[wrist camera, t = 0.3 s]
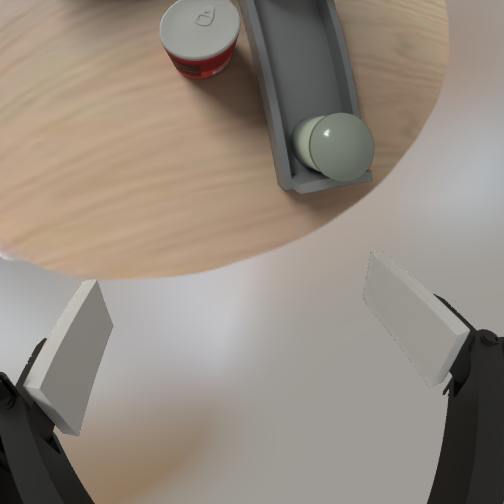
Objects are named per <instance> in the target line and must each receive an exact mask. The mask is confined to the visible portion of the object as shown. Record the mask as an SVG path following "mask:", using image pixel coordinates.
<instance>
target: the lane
mask: <svg viewBox="0 0 504 504" xmlns="http://www.w3.org/2000/svg"><path fill="white" fill-rule="evenodd" d="M239 4H240V8H241V12H242V16H243V20H244V24H245V28H246V32H247V36H248V40H249V44H250V49H251V53H252V57H253V62H254V66H255V70H256V75H257V79H258V84H259V89H260V93H261V98H262V103H263V108H264V113H265V117H266V122H267V127H268V133H269V138H270V143H271V148H272V153H273V159H274V164H275V170H276V175H277V181H278V185H279V186H281V187H282V188H283V189H284V190H290V189H294V190H296V191H297V192H298V193H300V194H304V193H309V192H314V191H319V190H324V189H330V188H335V187H340V186H345V185H351V184H356V183H362V182H368V181H372V171H369V170H366V172H365V173H364V174H362V175H361V176H360V177H358V178H356V179H354V180H351V181H337V180H334V179H331V178H329V177H327V176H325V175H324V174H322V173H321V172H320V171H317V170H315V169H312V168H310V167H307V166H305V165H303V164H301V163H300V162H299V161H298V160H297V159H296V158H295V157H294V155H293V153H292V151H291V147H290V136H291V133H292V130H293V128H294V127H295V126H296V124H297V123H299V122H300V121H301V120H303V119H305V118H309V117H318V116H327V115H330V114H334V113H348V114H352V115H354V116H356V117H358V118H360V112H359V106H358V100H357V94H356V89H355V84H354V79H353V74H352V69H351V64H350V60H349V56H348V52H347V47H346V43H345V40H344V36H343V32H342V28H341V25H340V21H339V18H338V15H337V11H336V8H335V5H334V2H333V0H239ZM360 119H361V118H360Z"/></svg>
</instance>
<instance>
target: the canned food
mask: <svg viewBox="0 0 504 504" xmlns="http://www.w3.org/2000/svg"><path fill="white" fill-rule="evenodd" d="M239 31H240V15H239V13H238V10H237V9H236V7H235V6H234V4H232V3H231V2H230V1H229V0H178V1H177V2H175V3H174V4H173V5H172V6H171V7H170V8H169V9H168V10H167V11H166V12H165V14H164V15H163V17H162V20H161V22H160V27H159V33H160V39H161V42H162V44H163V46H164V48H165V50H166V52H167V53H168V55H169V57H170V59H171V60H172V62H173V64H174V65H175V67H176V69H177V70H178V71H179V72H180V73H182V74H183V75H185V76H187V77H190V78H195V79H203V78H208V77H211V76H214V75H216V74H217V73H219V72H220V71H222V70H223V69H224V68H225V67H226V66H227V64H228V63H229V61H230V59H231V56H232V53H233V50H234V47H235V44H236V41H237V38H238V35H239Z"/></svg>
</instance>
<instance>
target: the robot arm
mask: <svg viewBox="0 0 504 504" xmlns="http://www.w3.org/2000/svg"><path fill="white" fill-rule="evenodd" d="M363 300H364V301H365V303H366V304H367V305H368V306H369V307H370V309H371V310H372V311H373V313H374V314H375V315H376V316H377V318H378V319H379V320H380V322H381V323H382V324H383V325H384V327H385V328H386V329H387V330H388V332H389V333H390V334H391V336H392V337H393V338H394V340H395V341H396V342H397V344H398V345H399V346H400V348H401V349H402V350H403V352H404V353H405V354H406V356H407V357H408V358H409V360H410V361H411V362H412V364H413V365H414V367H415V368H416V369H417V371H418V372H419V373H420V375H421V376H422V378H423V379H424V380H425V382H426V383H427V385H428V386H429V387H430V388H431V387H433V386H435V385H437V384H439V383H441V382H443V381H444V379H445V377H446V376H447V374H448V372H450V373H451V374H452V378H451V380H450V381H449V383H448V385H447V386H446V388H445V389H444V391H443V395H445V394H446V392H447V390H448V389H449V394H448V396H449V398H448V408H447V416H446V423H445V430H444V436H443V442H442V447H441V452H440V457H439V462H438V466H437V470H436V474H435V479H434V482H433V486H432V489H431V492H430V496H429V499H428V502H427V504H503V501H504V337H497V335H496V334H494V333H493V332H491V331H488V330H484V329H481V330H478V331H477V330H476V329H475V328H473V326H472V325H471V324H470V323H469V322H468V321H467V320H466V319H464V318H463V317H462V316H461V315H460V314H459V313H457V311H456V310H455V309H454V308H453V307H451V305H450V304H448V302H446V301H445V300H444V299H443V298H441V297H439V296H437V295H435V294H432V293H431V292H430V291H429V290H428V289H427V288H426V287H424V286H423V285H422V284H421V283H420V282H419V281H418V280H416V279H415V278H414V277H413V276H412V275H411V274H410V273H409V272H407V271H406V270H405V269H404V268H403V267H402V266H400V265H399V264H398V263H397V262H396V261H394V260H393V259H392V258H391V257H390V256H388V255H387V254H386V253H385V252H383V251H378V252H371V253H370V259H369V265H368V271H367V277H366V284H365V289H364V294H363ZM112 328H113V324H112V321H111V318H110V316H109V313H108V310H107V308H106V305H105V302H104V299H103V296H102V293H101V290H100V287H99V284H98V281H97V279H96V280H84V281H83V282H82V284H81V285H80V287H79V288H78V290H77V291H76V293H75V294H74V296H73V297H72V299H71V301H70V302H69V304H68V305H67V307H66V308H65V310H64V312H63V313H62V315H61V316H60V318H59V320H58V321H57V323H56V325H55V326H54V328H53V330H52V332H51V333H50V335H49V337H48V338H44V339H43V340H42V341H41V342H40V343H39V344H38V345H37V346H36V348H35V349H34V351H33V353H32V357H30V358H29V361H28V364H26V366H25V368H24V370H23V372H22V374H21V376H20V378H19V380H18V382H17V384H16V386H14V385H13V384H12V382H11V381H10V379H9V378H8V377H7V375H6V374H5V373H3V372H0V504H95V503H94V502H93V500H92V499H91V497H90V496H89V494H88V493H87V491H86V490H85V488H84V487H83V485H82V483H81V482H80V480H79V478H78V476H77V475H76V473H75V471H74V469H73V467H72V466H71V464H70V462H69V460H68V458H67V456H66V454H65V452H64V450H63V448H62V446H61V444H60V442H59V440H58V438H57V436H56V435H55V433H54V432H53V429H54V426H55V425H56V427H57V428H58V429H59V430H60V431H61V432H62V433H64V434H70V435H75V436H79V434H80V430H81V426H82V422H83V418H84V414H85V411H86V407H87V403H88V400H89V396H90V393H91V390H92V387H93V383H94V380H95V377H96V374H97V371H98V368H99V365H100V362H101V359H102V356H103V353H104V350H105V347H106V345H107V342H108V339H109V336H110V334H111V331H112Z"/></svg>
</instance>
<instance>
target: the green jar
mask: <svg viewBox="0 0 504 504" xmlns="http://www.w3.org/2000/svg"><path fill="white" fill-rule="evenodd" d="M290 147H291V151H292V153H293V155H294V157H295V158H296V159H297V160H298V161H299V162H300V163H301V164H303V165H305V166H307V167H310V168H312V169H315V170H317V171H320V172H321V173H322V174H324V175H325V176H327V177H329V178H331V179H334V180H337V181H351V180H354V179H356V178H358V177H360V176H361V175H362V174H364V173H365V172H366V170H367V169H368V168H369V166H370V164H371V162H372V159H373V155H374V141H373V137H372V134H371V132H370V130H369V128H368V127H367V125H366V124H365V123H364V122H363V121H362V120H361V119H360V118H358V117H356V116H354V115H352V114H348V113H334V114H330V115H327V116H318V117H309V118H305V119H303V120H301V121H300V122H299V123H297V124H296V126H295V127H294V128H293V130H292V133H291V136H290Z"/></svg>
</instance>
